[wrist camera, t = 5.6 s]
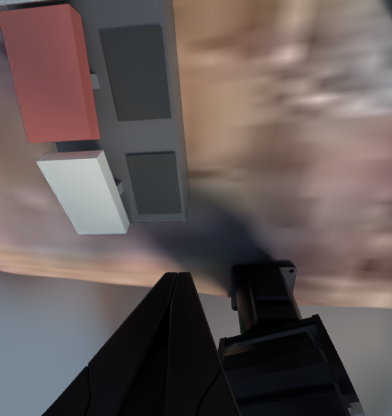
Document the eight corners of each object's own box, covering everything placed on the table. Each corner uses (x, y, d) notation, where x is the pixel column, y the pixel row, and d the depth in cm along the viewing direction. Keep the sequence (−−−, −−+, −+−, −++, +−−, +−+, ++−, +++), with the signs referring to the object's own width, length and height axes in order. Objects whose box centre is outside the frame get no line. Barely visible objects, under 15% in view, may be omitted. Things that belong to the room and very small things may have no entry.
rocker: (129, 224, 17) (126, 233, 17) (84, 225, 18) (78, 234, 17) (103, 150, 13) (96, 158, 13) (45, 153, 14) (35, 161, 13)
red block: (100, 139, 13) (91, 138, 12) (41, 142, 13) (27, 142, 12) (80, 15, 12) (68, 3, 11) (14, 22, 12) (-3, 11, 11)
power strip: (189, 198, 21) (184, 227, 16) (104, 201, 21) (78, 229, 17) (160, -131, 12) (132, -251, 8) (18, -109, 13) (-81, -207, 8)
